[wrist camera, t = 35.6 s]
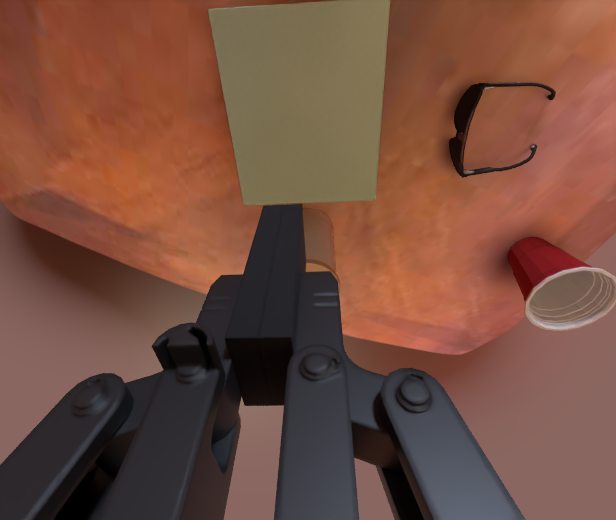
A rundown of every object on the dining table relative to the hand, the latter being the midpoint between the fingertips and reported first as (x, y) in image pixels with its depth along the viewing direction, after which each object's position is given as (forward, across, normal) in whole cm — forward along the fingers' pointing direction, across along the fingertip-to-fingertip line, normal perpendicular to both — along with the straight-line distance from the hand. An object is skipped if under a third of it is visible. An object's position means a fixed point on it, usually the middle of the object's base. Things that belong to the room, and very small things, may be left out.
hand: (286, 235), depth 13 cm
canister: (+32, -1, -19) cm, 37 cm away
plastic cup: (+33, +34, -24) cm, 53 cm away
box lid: (+27, 0, -1) cm, 27 cm away
